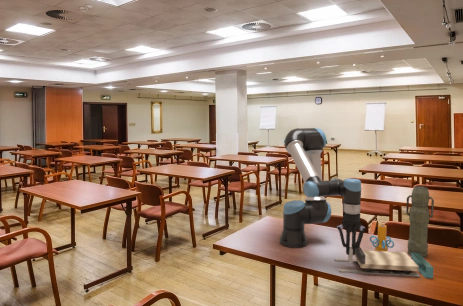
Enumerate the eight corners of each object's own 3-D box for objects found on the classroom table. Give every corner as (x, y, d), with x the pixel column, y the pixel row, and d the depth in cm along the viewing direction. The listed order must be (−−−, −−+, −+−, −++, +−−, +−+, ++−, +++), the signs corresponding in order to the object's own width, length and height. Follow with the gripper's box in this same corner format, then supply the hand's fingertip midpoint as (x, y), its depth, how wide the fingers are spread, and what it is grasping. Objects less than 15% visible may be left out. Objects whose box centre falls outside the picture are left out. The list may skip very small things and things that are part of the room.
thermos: (403, 249, 176) (406, 184, 173) (428, 252, 172) (432, 186, 168) (405, 255, 168) (408, 187, 165) (431, 259, 164) (435, 189, 160)
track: (339, 273, 149) (340, 262, 149) (334, 258, 165) (334, 248, 165) (432, 278, 144) (433, 267, 143) (417, 262, 160) (418, 252, 159)
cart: (361, 272, 148) (361, 255, 147) (353, 258, 164) (353, 241, 163) (418, 276, 145) (419, 257, 144) (404, 260, 160) (405, 244, 160)
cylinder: (395, 259, 163) (396, 230, 162) (373, 258, 166) (374, 228, 164) (389, 250, 175) (390, 222, 174) (368, 248, 177) (369, 221, 176)
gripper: (338, 213, 151) (337, 263, 153) (368, 215, 149) (366, 265, 151) (335, 209, 158) (334, 257, 161) (364, 210, 156) (362, 258, 159)
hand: (350, 261), depth 156 cm, fingers closed
